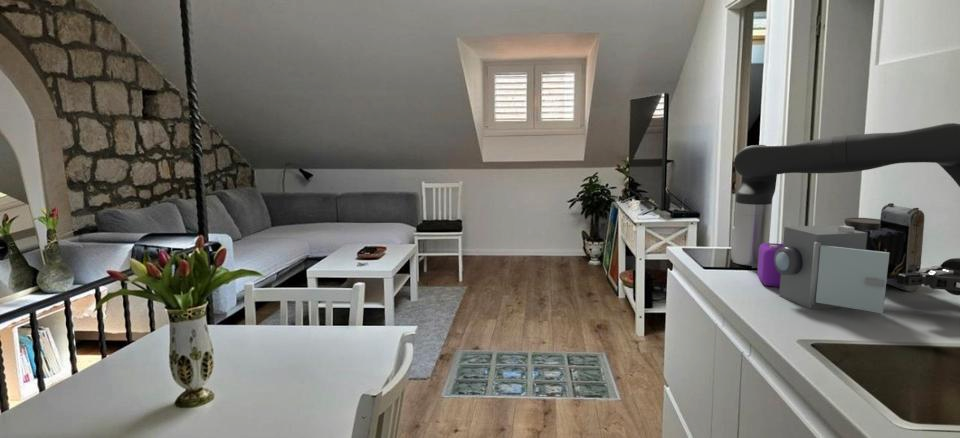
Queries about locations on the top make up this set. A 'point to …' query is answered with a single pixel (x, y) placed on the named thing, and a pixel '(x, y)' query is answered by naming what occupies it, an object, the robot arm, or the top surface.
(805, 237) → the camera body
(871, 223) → the coffee can
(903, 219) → the vintage camera
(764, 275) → the toy camera
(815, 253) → the side door
